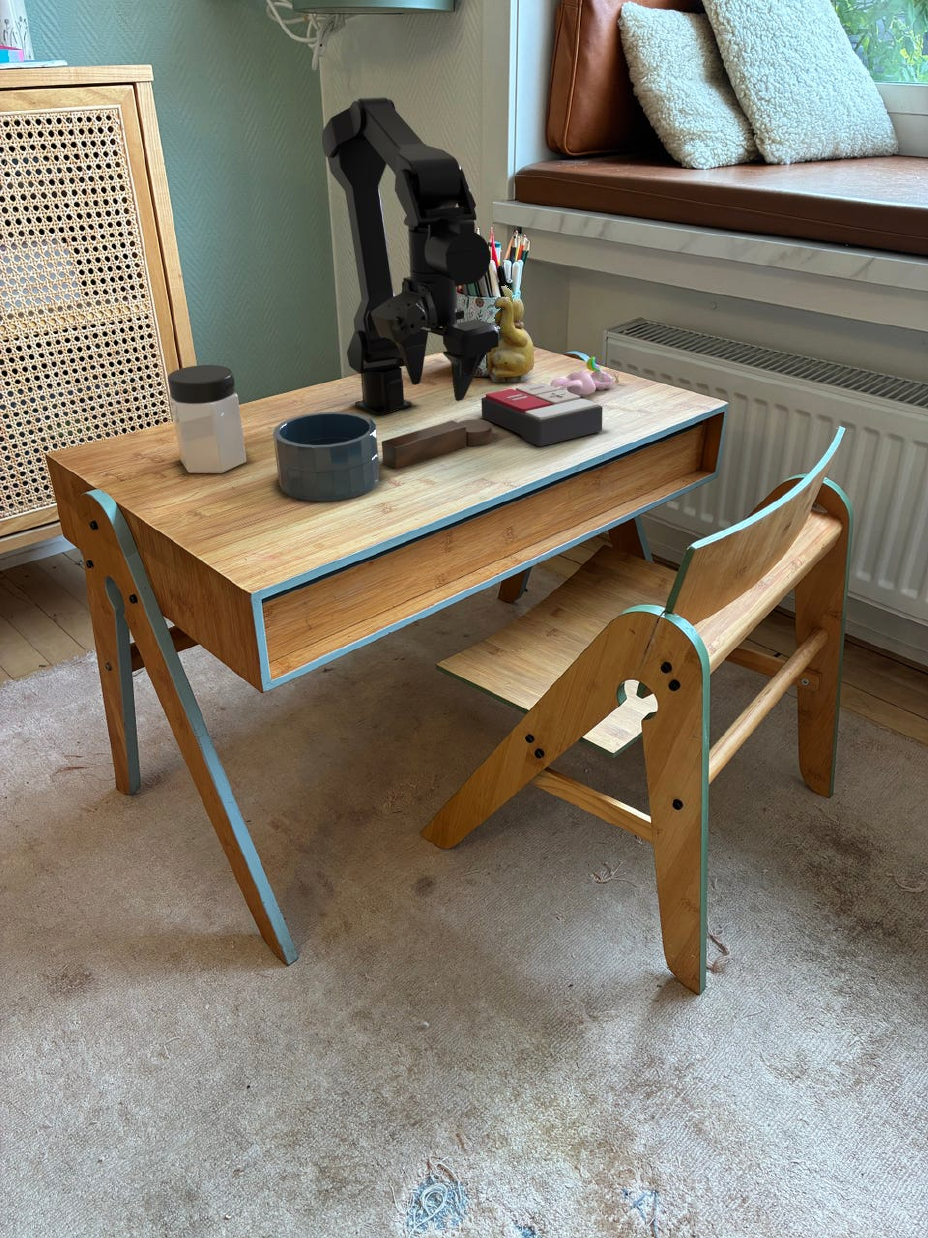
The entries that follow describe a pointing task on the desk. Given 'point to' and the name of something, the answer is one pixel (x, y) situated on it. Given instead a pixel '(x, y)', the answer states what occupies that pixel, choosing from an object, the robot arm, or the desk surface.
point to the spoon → (435, 441)
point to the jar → (207, 418)
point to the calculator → (542, 413)
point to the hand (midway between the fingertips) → (437, 391)
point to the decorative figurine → (510, 342)
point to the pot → (327, 456)
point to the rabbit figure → (586, 380)
